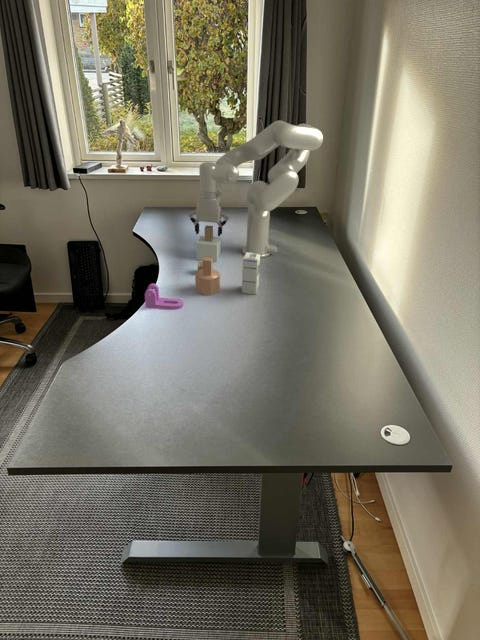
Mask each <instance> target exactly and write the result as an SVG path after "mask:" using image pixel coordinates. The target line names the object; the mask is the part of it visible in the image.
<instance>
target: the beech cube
mask: <svg viewBox="0 0 480 640" xmlns="http://www.w3.org/2000/svg"><path fill="white" fill-rule="evenodd" d="M201 269H203V261H198V262H197V271H198V270H201Z"/></svg>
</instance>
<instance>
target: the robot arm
mask: <svg viewBox="0 0 480 640" xmlns="http://www.w3.org/2000/svg"><path fill="white" fill-rule="evenodd" d="M323 141H324V136H323V133H322V131H321V130H320V129H318V128H317V127H314V126H312V125H309V124H307V123H300V124H297V125H294V124H290V123H288V122H286V121H284V120H275V121H274V122H272V123H271V124H269V125H267V126H266V127H265V128H264V129H263V130H262V131H260V132H259V133H257V134H256V135H255V136H253V137H252V138H251V139H250V140H248V141H246V142H244V143H241V144H239V145H237V146H235V147H233V148H231V149H230V150H228V151H227V152H226V153H224V154H223V155H222V156H221V157H219V158H218V159H217V160H216V161H215V162H210V161H205V162H202V163H200V165H199V168H198V169H199V195H198V197H197V201H196V209H195V210H193V211H191V212H188V217H189V220H190V221H191V222H192V223H193V225H194V232H195V235H199V233H200V223H199V222H205V223H216V224H217V226H218V227H217V237H221V235H222V234H223V226H225V225H226V224H227V222H228V220H229V218H230V216H228V215H227V214H225V213H224V212H222V201H221V196H222V192H221V191H219V183H223V184H224V183H225V184H233V183H235V182H236V181H237V180H238V178H239V177H240V171H239V169H238V167H239V166H241V165H242V164H245V163H247V162H250V161H251V162H252V161H258V160H259V161H260V160H262V159H264V158H265V157H266V156H268V155H269V154H270V153H271V152H272V151H274V150H275V149H277V148H278V147H280V146H281V147H283V148H288V149H289V151H288V152H287V153H286V155H284V156H283V157H282V158H281V159H280V160H279V161H278V162H277V163H276V164H275V165H274V166H273V167H271V168H270V169H269V171H268V173H267V178H268V181H269V182H270V183H269V184H268V183H266V182H265V181H262V180H256V181H253V182H252V183H251V184H250V185H249V187H248V189H247V195H246V197H247V199H246V200H247V223H246V224H247V225H246V241H245V242H246V245H245V246H244V247H242V254H243V255H245V254H246V252H247V253H258V254H260V259H261V258H266V257H268V256H270V255H271V252H275V253H277V252H278V247H277V246H276V245H274V244H273V245H271V244H270V242H269V231H270V218H271V211H273V210H274V209H276V208H277V207H279V205H281V204H282V203H284V201H286V199H288V198H289V197H290V196H291V194H293V193H294V192H295V190H296V189H297V187H298V184H299V175H298V173H299V171H300V170H302V168H303V167H304V166H305V165H306V164H307V162H308V159H309V158H310V152H312V151H316V150H318V149H319V148H320V147H321V146H322V144H323ZM194 216H195V217H194ZM222 218H224V220H223V221H222V220H221V219H222Z"/></svg>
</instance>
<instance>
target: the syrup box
mask: <svg viewBox="0 0 480 640" xmlns="http://www.w3.org/2000/svg"><path fill="white" fill-rule="evenodd" d="M243 255H244V256H243V258H242V269H241V270H242V271H241V273H242V274H241V276H242V277H241V293H243V294H249V295H257V294H258V290H259V288H260V273H261V272H260V270H261V269H260V268H261V258H260V254H258V253H247V252H246V254H243Z"/></svg>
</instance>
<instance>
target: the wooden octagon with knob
mask: <svg viewBox="0 0 480 640" xmlns="http://www.w3.org/2000/svg"><path fill="white" fill-rule="evenodd" d="M202 262H203V269H201V270H198V269H197V271H196V272H195V278H194V282H195V283H194V285H195V292H197V294H200V295H204V296H212V295H215V294H218V293H219V292H220V290H221V273H220V272H219V271H218V270H217V269H214V268H213V267H214V266H213V263H214V262H213V258H210V257H204V259H203V261H202Z"/></svg>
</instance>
